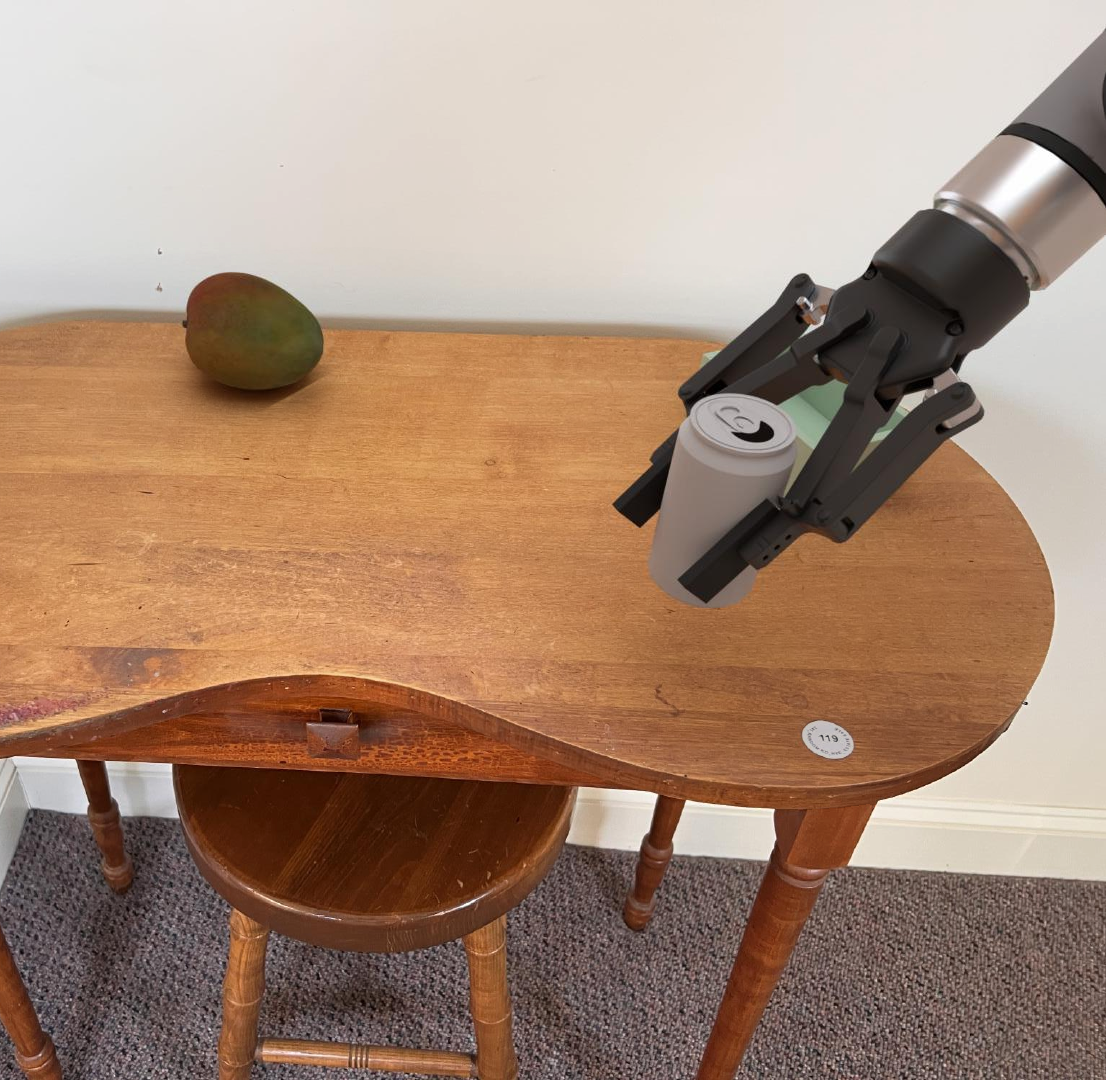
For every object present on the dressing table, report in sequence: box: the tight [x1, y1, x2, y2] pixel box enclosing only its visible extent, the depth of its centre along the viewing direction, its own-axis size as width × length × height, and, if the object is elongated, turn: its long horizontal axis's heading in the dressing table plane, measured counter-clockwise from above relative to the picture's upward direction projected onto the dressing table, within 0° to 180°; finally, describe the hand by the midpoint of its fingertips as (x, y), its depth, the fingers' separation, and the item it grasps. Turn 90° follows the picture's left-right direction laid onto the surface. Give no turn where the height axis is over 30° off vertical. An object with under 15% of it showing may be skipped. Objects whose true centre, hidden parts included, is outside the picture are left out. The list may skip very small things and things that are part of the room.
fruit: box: [182, 271, 325, 391], centre depth 93 cm, size 12×13×10 cm
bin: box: [698, 332, 910, 497], centre depth 88 cm, size 16×11×6 cm
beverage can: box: [647, 393, 798, 609], centre depth 60 cm, size 6×6×12 cm
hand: (658, 552), depth 61 cm, fingers closed on beverage can, 6 cm apart
